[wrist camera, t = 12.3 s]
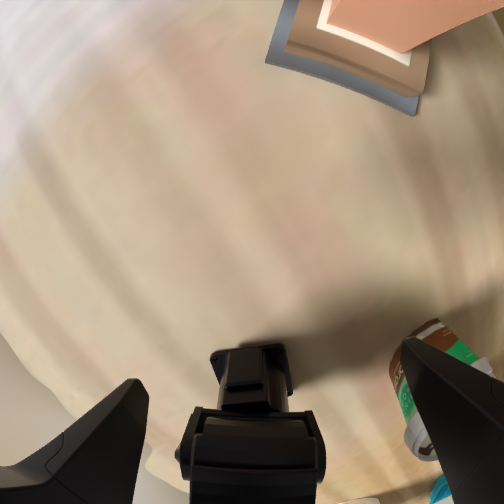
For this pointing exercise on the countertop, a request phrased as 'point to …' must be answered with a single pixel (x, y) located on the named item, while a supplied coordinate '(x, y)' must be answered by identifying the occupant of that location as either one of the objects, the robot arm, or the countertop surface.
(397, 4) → the terracotta block
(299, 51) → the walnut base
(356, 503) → the canister
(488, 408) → the robot arm
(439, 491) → the ice cube tray
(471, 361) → the food container
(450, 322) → the countertop surface
